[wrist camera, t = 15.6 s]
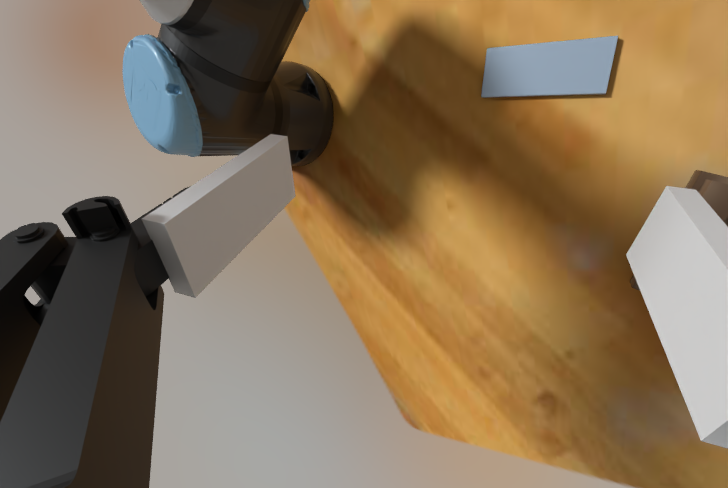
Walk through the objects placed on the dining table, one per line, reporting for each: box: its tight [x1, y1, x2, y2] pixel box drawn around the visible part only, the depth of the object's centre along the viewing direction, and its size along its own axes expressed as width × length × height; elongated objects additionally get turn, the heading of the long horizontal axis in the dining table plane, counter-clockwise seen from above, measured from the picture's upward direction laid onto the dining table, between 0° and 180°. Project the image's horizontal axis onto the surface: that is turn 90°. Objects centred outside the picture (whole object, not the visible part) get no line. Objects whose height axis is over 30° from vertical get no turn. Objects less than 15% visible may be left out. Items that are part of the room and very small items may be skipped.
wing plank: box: [481, 36, 618, 98], centre depth 37 cm, size 12×5×1 cm, turn 87°
